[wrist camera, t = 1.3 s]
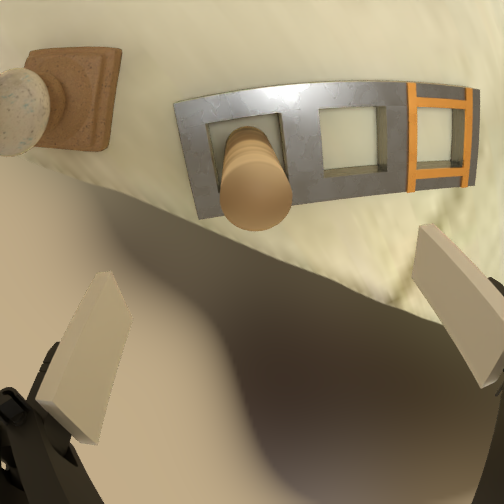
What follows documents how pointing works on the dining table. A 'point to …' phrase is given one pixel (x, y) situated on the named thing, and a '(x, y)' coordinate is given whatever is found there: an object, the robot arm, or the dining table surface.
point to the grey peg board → (310, 147)
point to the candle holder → (59, 100)
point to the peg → (253, 182)
